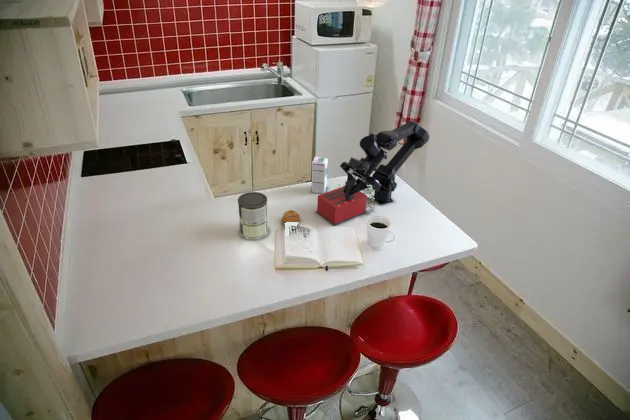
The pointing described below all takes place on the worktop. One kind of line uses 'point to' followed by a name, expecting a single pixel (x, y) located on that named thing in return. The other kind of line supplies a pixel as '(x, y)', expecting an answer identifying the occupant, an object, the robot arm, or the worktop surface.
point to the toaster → (340, 206)
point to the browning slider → (349, 189)
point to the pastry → (291, 216)
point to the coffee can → (253, 215)
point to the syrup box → (319, 174)
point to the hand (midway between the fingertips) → (346, 193)
